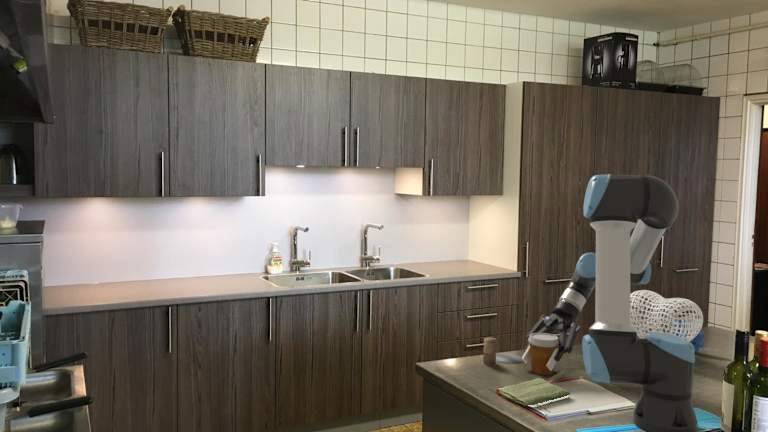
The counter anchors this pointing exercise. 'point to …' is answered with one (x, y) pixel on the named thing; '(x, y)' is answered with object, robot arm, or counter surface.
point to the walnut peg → (489, 351)
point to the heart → (662, 302)
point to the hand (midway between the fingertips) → (536, 364)
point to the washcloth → (533, 392)
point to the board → (507, 359)
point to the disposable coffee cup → (542, 351)
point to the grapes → (697, 340)
